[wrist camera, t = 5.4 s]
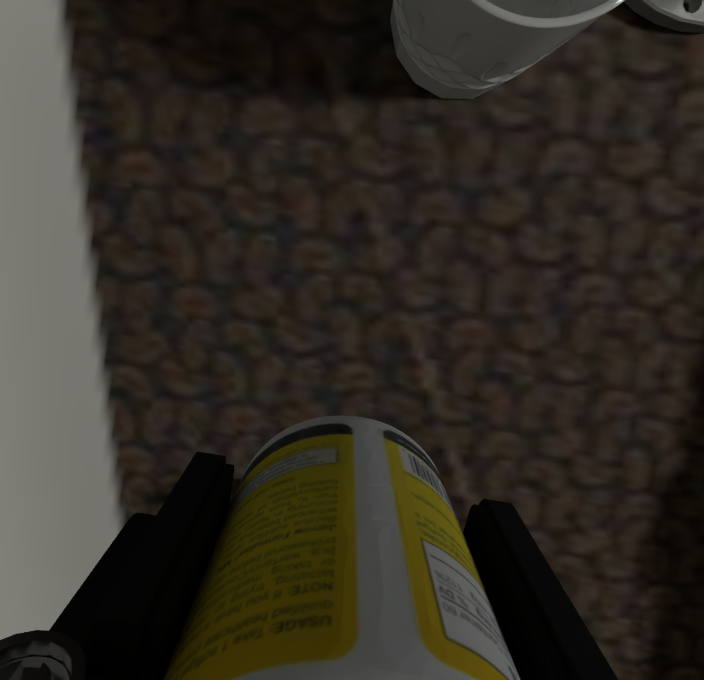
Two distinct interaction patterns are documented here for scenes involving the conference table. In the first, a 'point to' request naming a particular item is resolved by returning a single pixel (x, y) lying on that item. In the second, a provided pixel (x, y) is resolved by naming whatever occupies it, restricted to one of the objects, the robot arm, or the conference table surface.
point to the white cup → (483, 39)
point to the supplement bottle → (341, 569)
